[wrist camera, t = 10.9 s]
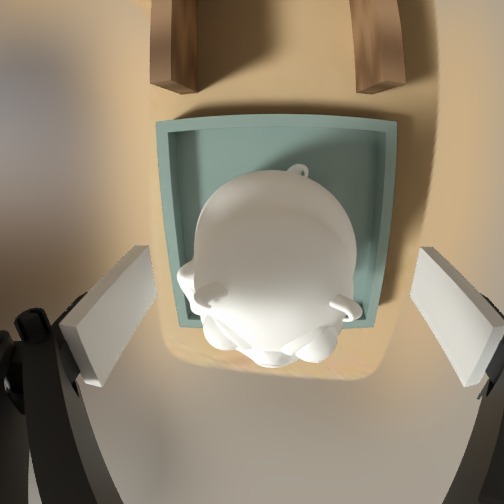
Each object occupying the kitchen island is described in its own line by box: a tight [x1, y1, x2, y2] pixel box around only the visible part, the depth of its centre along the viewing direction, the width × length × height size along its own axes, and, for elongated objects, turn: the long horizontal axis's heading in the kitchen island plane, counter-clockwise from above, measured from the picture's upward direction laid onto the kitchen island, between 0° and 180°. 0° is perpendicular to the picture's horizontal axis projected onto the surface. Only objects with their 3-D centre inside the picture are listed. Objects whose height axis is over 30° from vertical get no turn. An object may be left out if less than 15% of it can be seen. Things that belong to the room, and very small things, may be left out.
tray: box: [156, 114, 397, 329], centre depth 21 cm, size 16×16×2 cm
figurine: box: [177, 164, 363, 368], centre depth 16 cm, size 10×10×12 cm
